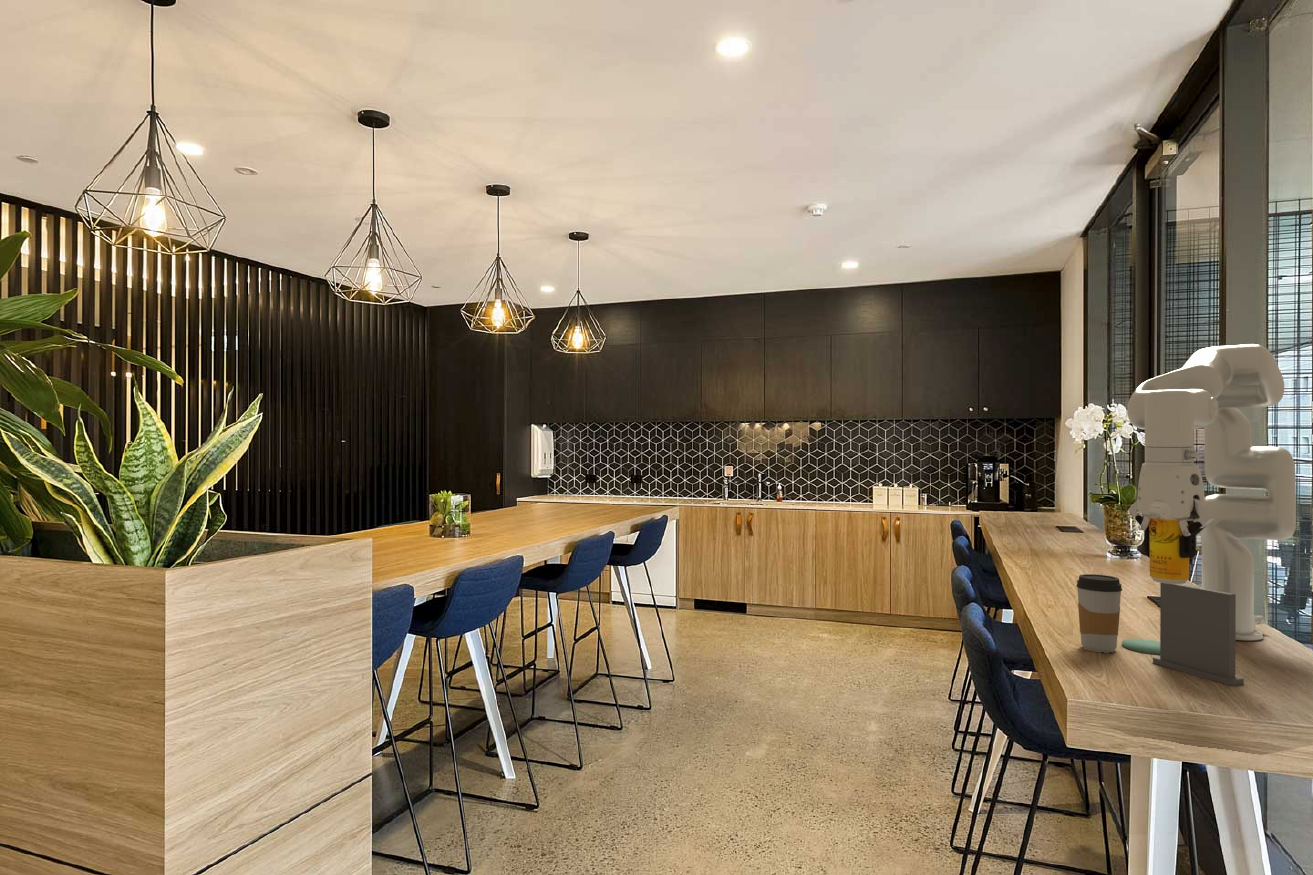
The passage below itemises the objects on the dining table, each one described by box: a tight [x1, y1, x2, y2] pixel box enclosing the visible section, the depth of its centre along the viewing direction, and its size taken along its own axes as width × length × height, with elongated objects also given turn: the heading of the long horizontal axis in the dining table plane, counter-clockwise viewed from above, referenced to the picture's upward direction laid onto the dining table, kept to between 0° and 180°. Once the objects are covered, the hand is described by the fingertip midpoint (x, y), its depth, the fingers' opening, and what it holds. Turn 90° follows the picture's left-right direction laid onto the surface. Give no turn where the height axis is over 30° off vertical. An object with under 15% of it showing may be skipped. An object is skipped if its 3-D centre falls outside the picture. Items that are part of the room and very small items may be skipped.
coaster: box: [1121, 638, 1160, 656], centre depth 161 cm, size 10×10×1 cm
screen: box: [1152, 582, 1245, 687], centre depth 144 cm, size 3×15×16 cm, turn 19°
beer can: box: [1149, 500, 1190, 585], centre depth 141 cm, size 6×6×15 cm
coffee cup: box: [1076, 573, 1123, 654], centre depth 161 cm, size 8×8×15 cm
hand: (1169, 553), depth 141 cm, fingers closed on beer can, 6 cm apart
